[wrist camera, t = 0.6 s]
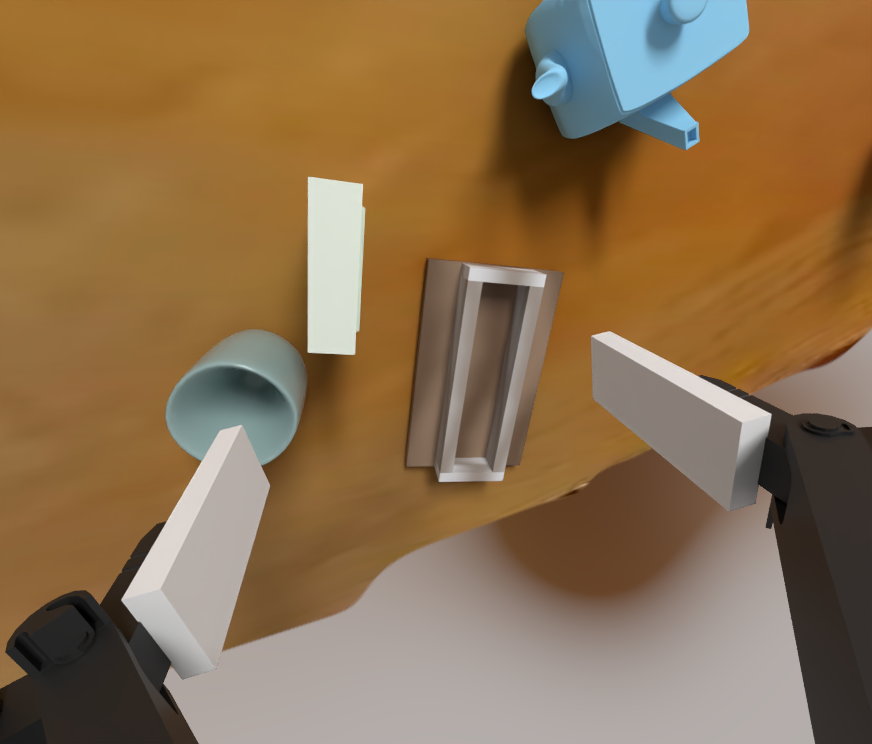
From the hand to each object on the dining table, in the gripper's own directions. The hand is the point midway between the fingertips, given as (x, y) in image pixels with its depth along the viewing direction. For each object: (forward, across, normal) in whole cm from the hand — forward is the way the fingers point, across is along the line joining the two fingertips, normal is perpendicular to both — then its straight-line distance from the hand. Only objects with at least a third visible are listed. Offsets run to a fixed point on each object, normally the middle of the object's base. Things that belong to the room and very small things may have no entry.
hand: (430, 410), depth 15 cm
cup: (+21, -12, -4) cm, 25 cm away
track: (+21, +6, -9) cm, 24 cm away
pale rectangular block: (+21, -3, +4) cm, 22 cm away
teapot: (+21, +19, +13) cm, 31 cm away
